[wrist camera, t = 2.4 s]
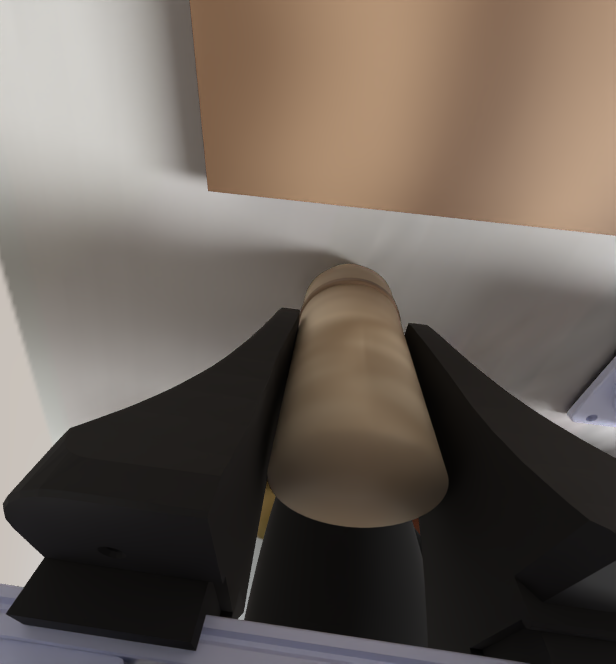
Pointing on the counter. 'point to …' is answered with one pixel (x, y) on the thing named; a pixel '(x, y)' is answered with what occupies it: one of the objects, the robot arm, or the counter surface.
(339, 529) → the mug
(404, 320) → the counter surface
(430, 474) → the peg
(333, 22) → the board
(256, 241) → the counter surface
